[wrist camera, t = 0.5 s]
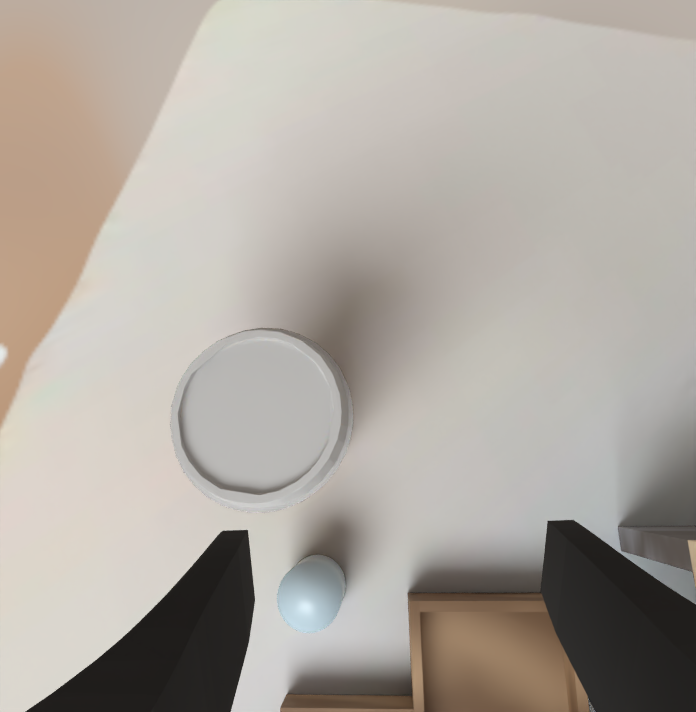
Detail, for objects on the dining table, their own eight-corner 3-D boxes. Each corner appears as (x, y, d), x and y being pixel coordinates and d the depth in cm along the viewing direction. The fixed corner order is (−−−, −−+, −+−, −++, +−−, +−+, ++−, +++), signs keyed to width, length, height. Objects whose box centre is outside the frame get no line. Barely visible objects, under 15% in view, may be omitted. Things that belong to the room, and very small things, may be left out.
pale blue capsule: (346, 615, 33) (340, 633, 30) (289, 615, 34) (276, 632, 30) (345, 554, 34) (340, 563, 31) (289, 554, 35) (277, 563, 31)
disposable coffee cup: (347, 358, 38) (329, 302, 26) (375, 487, 35) (370, 490, 24) (222, 386, 38) (150, 343, 26) (242, 517, 35) (172, 533, 24)
